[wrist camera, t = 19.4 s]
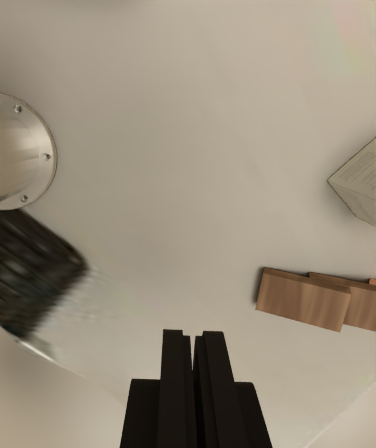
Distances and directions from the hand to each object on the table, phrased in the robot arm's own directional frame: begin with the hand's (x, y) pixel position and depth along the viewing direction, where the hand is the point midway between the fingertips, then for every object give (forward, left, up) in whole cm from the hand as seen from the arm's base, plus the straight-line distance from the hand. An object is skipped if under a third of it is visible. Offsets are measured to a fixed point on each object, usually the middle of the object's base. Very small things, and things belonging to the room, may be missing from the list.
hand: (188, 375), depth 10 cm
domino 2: (+17, -13, -31) cm, 38 cm away
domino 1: (+11, -13, -31) cm, 35 cm away
